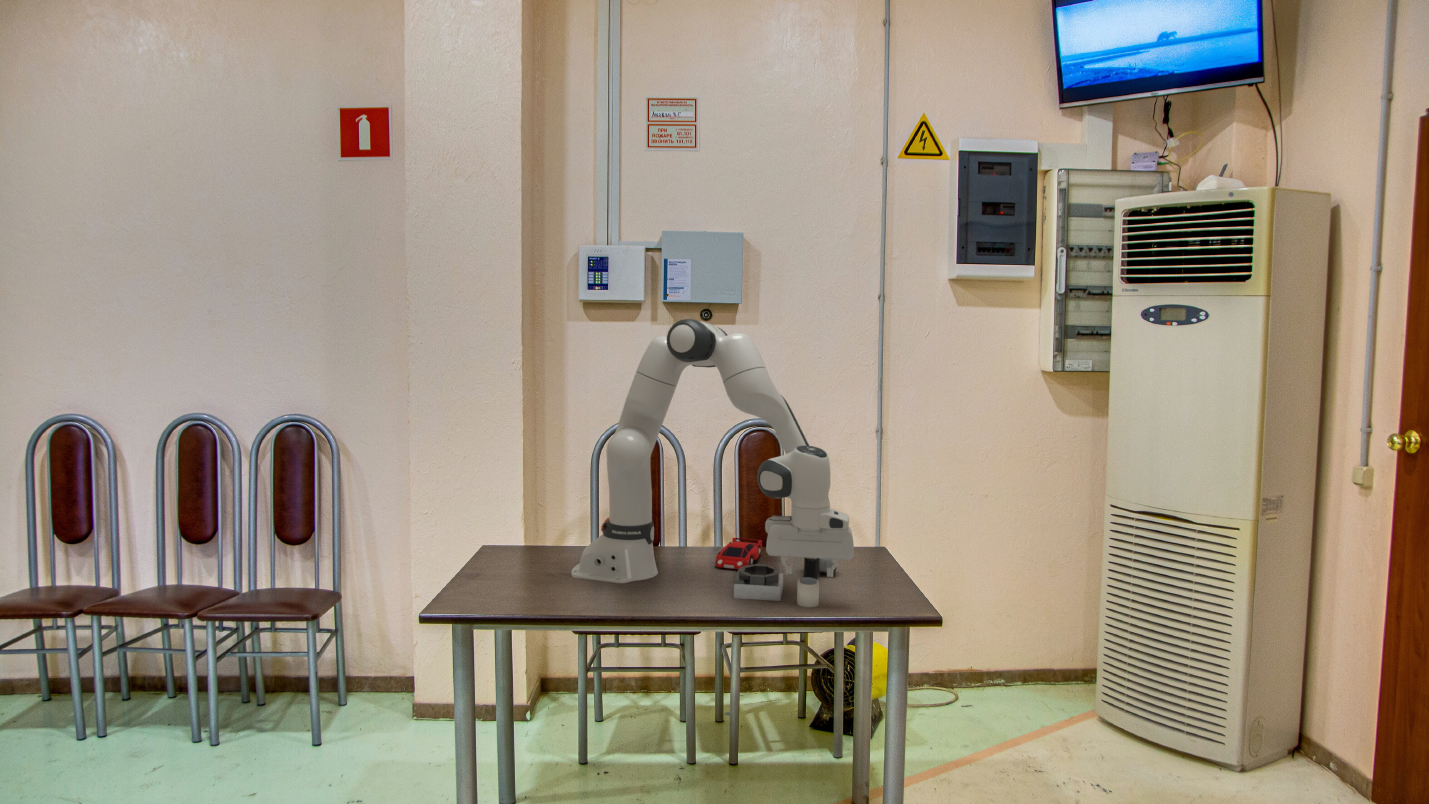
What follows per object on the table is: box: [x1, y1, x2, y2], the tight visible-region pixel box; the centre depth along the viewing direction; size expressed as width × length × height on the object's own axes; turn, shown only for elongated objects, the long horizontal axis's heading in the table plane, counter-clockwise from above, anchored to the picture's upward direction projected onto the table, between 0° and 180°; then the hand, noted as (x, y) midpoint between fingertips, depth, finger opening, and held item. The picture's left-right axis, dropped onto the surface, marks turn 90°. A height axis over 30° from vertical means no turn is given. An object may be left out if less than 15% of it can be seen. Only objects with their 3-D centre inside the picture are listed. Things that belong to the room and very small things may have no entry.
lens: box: [796, 576, 820, 608], centre depth 182 cm, size 5×5×6 cm
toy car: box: [714, 537, 763, 570], centre depth 218 cm, size 10×20×5 cm, turn 167°
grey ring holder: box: [733, 563, 784, 602], centre depth 190 cm, size 11×10×6 cm
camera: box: [803, 557, 838, 581], centre depth 206 cm, size 16×9×10 cm, turn 167°
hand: (809, 575), depth 182 cm, fingers open, 8 cm apart
